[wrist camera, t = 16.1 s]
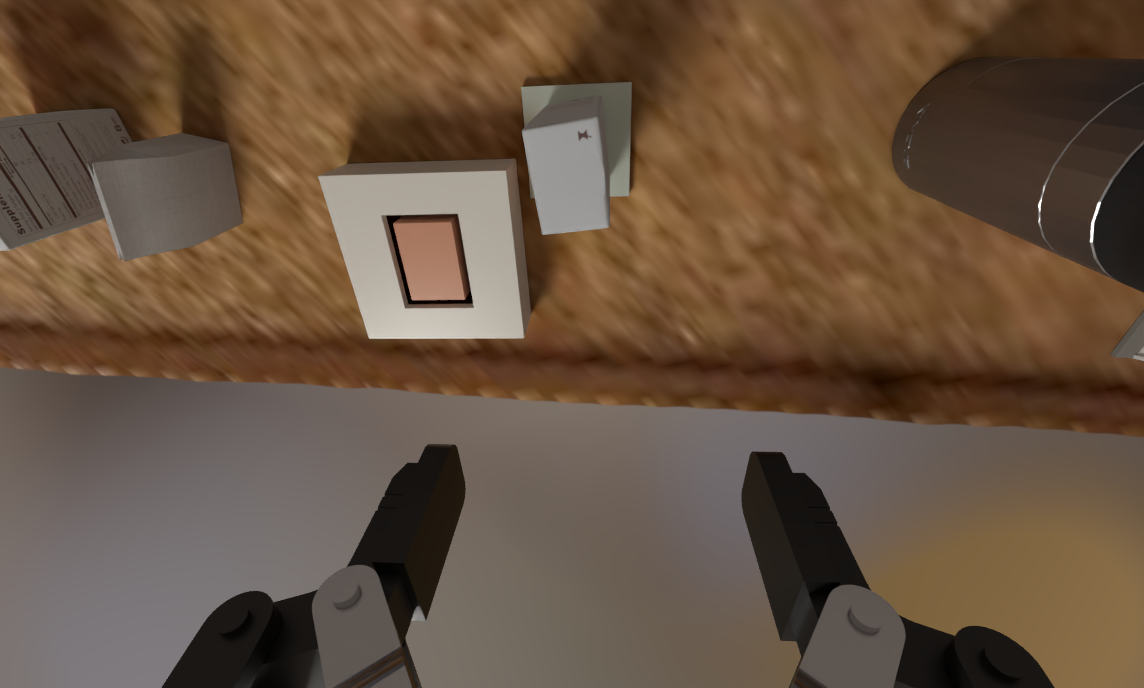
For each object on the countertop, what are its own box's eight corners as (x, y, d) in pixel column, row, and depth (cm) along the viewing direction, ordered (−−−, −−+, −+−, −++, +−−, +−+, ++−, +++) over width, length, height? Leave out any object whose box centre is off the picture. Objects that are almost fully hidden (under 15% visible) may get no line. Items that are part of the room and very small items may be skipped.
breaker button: (463, 208, 39) (451, 222, 36) (475, 281, 42) (465, 299, 39) (410, 209, 39) (393, 223, 36) (426, 281, 43) (411, 300, 40)
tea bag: (229, 143, 38) (120, 169, 29) (243, 223, 42) (150, 266, 33) (182, 132, 38) (59, 156, 29) (200, 214, 41) (96, 255, 33)
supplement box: (89, 204, 41) (-90, 257, 31) (34, 112, 38) (-194, 135, 27) (166, 201, 41) (10, 253, 30) (118, 106, 37) (-81, 128, 26)
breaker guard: (515, 158, 37) (505, 170, 33) (531, 313, 45) (524, 338, 41) (346, 163, 38) (318, 176, 34) (388, 314, 46) (369, 338, 42)
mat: (631, 81, 34) (631, 82, 33) (628, 194, 38) (629, 196, 38) (522, 86, 34) (521, 86, 34) (531, 196, 39) (530, 198, 38)
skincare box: (544, 104, 34) (519, 125, 24) (602, 94, 34) (600, 112, 24) (558, 187, 38) (540, 237, 27) (610, 180, 37) (613, 228, 27)
